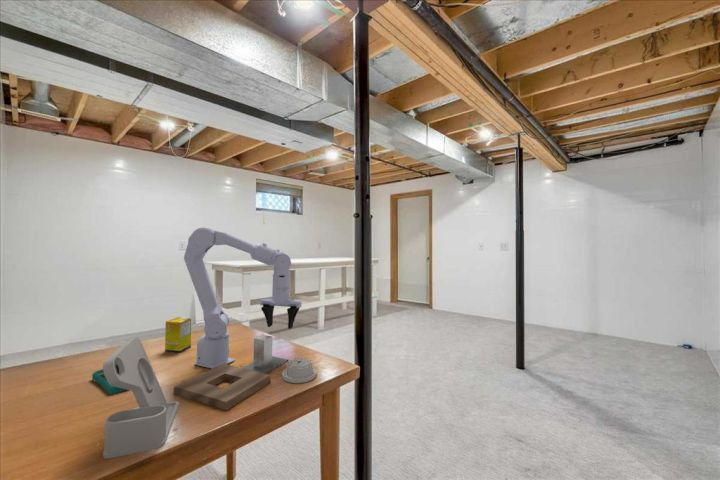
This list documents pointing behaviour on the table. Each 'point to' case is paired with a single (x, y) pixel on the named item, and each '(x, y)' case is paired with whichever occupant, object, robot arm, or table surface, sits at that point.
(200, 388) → the pocket board
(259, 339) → the alloy block
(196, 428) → the table surface
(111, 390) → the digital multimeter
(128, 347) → the phone holder
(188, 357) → the table surface
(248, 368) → the rubber mat
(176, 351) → the supplement box
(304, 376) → the mechanical component
